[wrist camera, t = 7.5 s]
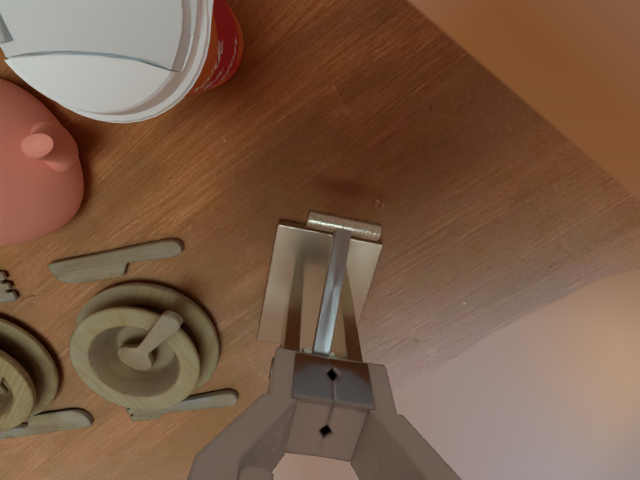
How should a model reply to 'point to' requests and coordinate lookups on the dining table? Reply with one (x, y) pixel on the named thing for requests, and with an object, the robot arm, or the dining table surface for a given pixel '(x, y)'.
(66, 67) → the coffee cup
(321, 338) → the lever
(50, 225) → the teapot
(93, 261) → the tableware set
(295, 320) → the metal lever stand
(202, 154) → the dining table surface
